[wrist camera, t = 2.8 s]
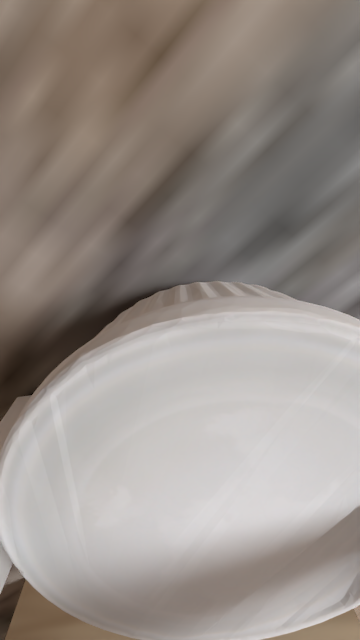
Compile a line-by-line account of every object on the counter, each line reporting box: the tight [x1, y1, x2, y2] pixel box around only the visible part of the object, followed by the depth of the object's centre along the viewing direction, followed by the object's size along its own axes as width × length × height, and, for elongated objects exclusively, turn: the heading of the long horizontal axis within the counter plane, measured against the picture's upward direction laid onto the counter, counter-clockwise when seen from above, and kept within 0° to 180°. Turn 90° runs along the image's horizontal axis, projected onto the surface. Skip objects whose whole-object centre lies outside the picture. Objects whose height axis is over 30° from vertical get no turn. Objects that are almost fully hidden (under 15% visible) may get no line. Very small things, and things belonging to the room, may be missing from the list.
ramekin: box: [0, 281, 360, 640], centre depth 10 cm, size 11×11×5 cm
